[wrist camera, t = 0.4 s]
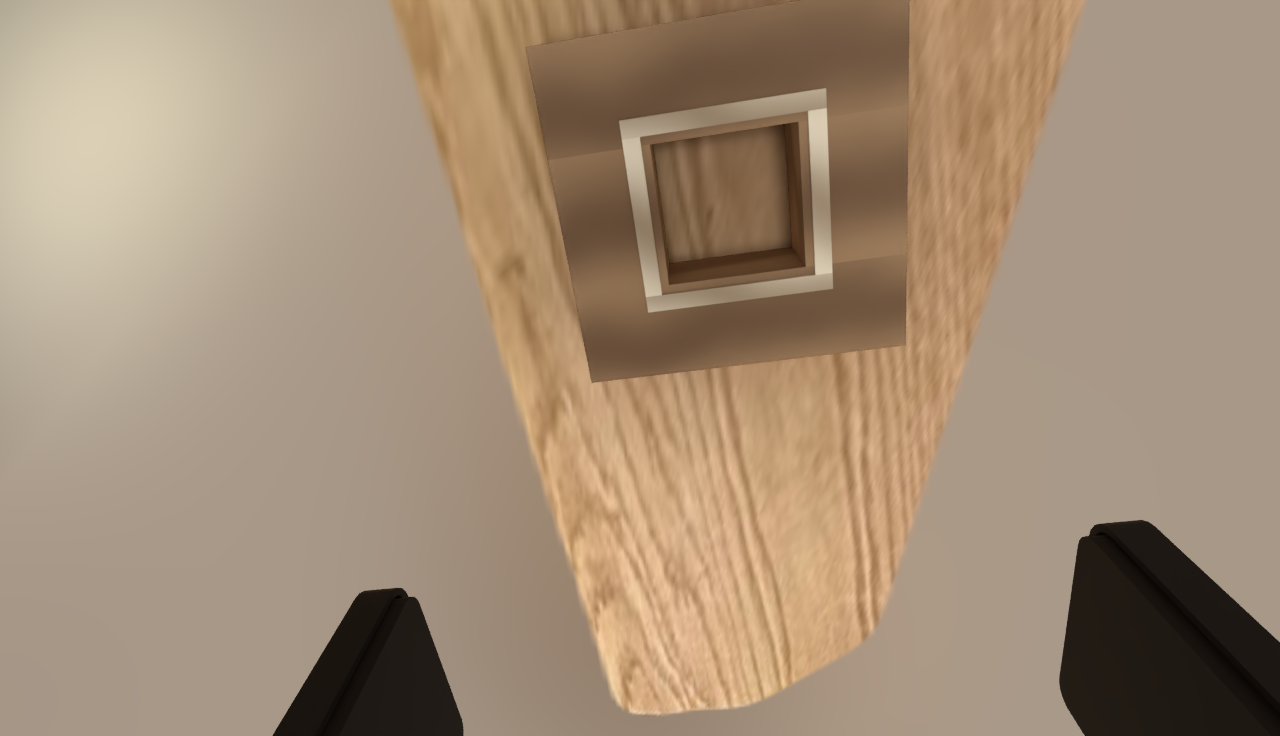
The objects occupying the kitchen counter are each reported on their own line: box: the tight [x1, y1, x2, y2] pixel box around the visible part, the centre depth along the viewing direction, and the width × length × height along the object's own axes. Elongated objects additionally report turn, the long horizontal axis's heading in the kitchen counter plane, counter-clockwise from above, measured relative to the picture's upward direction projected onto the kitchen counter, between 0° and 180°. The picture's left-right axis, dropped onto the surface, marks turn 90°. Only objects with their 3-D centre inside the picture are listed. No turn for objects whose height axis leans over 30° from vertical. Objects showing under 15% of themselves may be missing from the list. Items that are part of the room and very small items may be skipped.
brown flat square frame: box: [526, 0, 910, 383], centre depth 32 cm, size 16×16×4 cm
